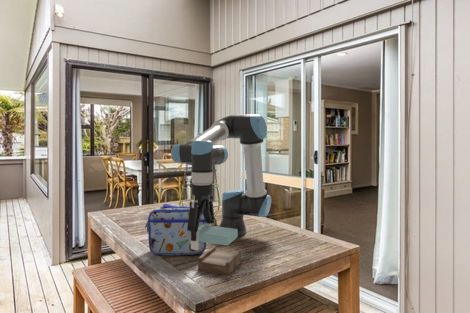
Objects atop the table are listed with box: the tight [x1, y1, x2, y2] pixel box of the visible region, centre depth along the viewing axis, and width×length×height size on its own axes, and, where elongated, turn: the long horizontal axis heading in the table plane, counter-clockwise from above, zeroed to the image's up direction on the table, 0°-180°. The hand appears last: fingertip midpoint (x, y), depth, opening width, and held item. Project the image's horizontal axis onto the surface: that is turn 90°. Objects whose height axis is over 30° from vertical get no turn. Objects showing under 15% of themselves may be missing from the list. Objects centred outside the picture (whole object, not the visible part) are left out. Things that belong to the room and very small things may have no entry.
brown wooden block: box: [197, 246, 242, 277], centre depth 132 cm, size 14×13×5 cm
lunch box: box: [144, 203, 208, 256], centre depth 145 cm, size 28×10×22 cm, turn 92°
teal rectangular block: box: [190, 225, 239, 246], centre depth 115 cm, size 14×10×3 cm
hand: (201, 244), depth 117 cm, fingers closed on teal rectangular block, 10 cm apart
